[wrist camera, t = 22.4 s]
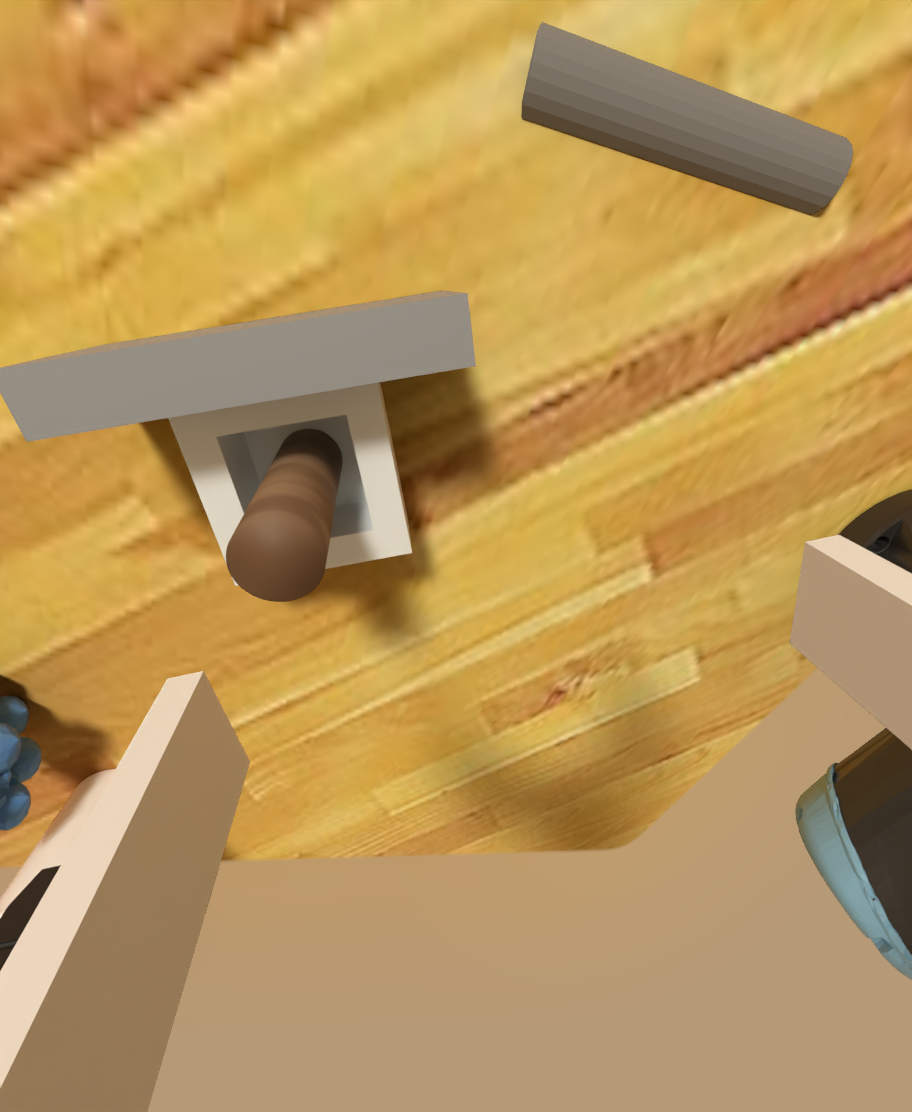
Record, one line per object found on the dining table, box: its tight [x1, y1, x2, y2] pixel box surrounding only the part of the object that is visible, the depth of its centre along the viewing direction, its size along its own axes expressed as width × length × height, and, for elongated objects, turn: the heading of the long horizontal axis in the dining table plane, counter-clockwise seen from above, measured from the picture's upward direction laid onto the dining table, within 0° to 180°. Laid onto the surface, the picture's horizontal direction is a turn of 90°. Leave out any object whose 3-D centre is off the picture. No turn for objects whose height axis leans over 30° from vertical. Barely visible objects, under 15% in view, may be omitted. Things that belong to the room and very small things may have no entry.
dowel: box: [226, 429, 342, 602], centre depth 28 cm, size 4×4×14 cm
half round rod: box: [522, 22, 853, 215], centre depth 29 cm, size 4×20×2 cm, turn 78°
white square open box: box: [168, 382, 412, 586], centre depth 32 cm, size 11×11×6 cm
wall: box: [0, 291, 476, 442], centre depth 27 cm, size 3×20×10 cm, turn 98°
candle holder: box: [0, 769, 116, 918], centre depth 41 cm, size 10×10×12 cm
